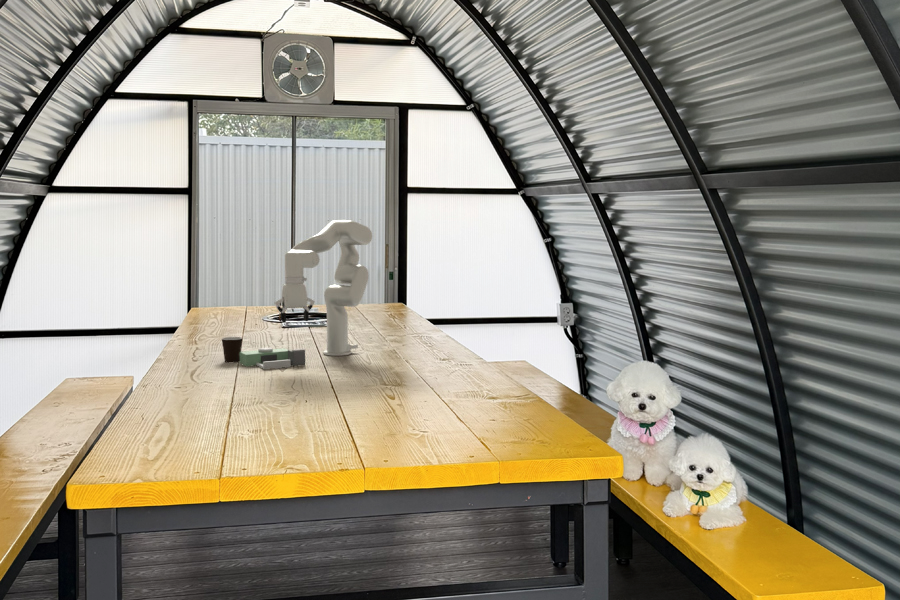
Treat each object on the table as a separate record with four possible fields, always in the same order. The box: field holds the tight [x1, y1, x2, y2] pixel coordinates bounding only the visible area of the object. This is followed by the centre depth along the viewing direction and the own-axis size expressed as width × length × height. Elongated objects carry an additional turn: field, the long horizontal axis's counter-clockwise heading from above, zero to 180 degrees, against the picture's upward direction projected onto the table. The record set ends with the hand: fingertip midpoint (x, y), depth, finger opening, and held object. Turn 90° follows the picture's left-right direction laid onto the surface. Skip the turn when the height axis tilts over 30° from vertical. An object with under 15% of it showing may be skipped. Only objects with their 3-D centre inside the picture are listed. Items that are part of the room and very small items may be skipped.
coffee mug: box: [221, 336, 243, 363], centre depth 349 cm, size 12×9×10 cm
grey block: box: [288, 348, 306, 367], centre depth 341 cm, size 5×7×7 cm
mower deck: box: [239, 347, 292, 370], centre depth 340 cm, size 20×18×6 cm
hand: (294, 321), depth 339 cm, fingers open, 9 cm apart
